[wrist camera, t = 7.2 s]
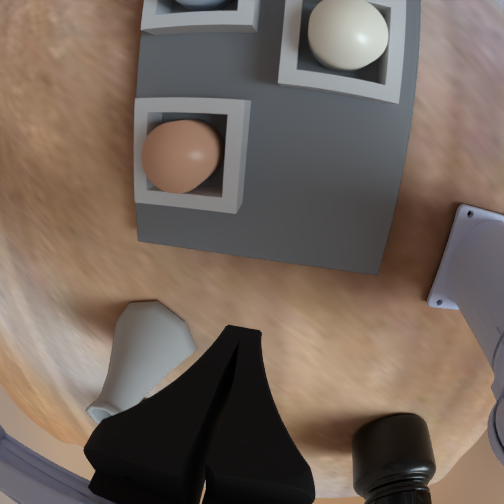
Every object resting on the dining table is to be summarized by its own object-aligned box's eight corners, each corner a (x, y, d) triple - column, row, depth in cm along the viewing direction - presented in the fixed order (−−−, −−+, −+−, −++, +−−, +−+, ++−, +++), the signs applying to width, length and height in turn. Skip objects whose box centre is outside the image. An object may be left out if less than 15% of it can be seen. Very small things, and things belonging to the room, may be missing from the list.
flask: (153, 369, 29) (112, 450, 20) (106, 313, 27) (46, 390, 18) (211, 351, 27) (177, 448, 18) (160, 286, 24) (98, 377, 16)
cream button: (376, 19, 13) (390, 4, 10) (371, 78, 14) (385, 73, 12) (309, 7, 13) (311, -11, 10) (304, 66, 15) (305, 58, 12)
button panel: (412, -34, 12) (429, -54, 8) (373, 264, 21) (383, 292, 18) (165, -52, 13) (143, -71, 10) (147, 232, 22) (124, 254, 19)
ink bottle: (351, 457, 32) (351, 542, 22) (343, 422, 29) (344, 526, 18) (426, 441, 30) (440, 524, 19) (433, 402, 26) (456, 502, 16)
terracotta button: (226, 120, 17) (212, 123, 14) (222, 182, 18) (208, 196, 15) (165, 117, 17) (141, 121, 14) (164, 177, 18) (141, 190, 16)
